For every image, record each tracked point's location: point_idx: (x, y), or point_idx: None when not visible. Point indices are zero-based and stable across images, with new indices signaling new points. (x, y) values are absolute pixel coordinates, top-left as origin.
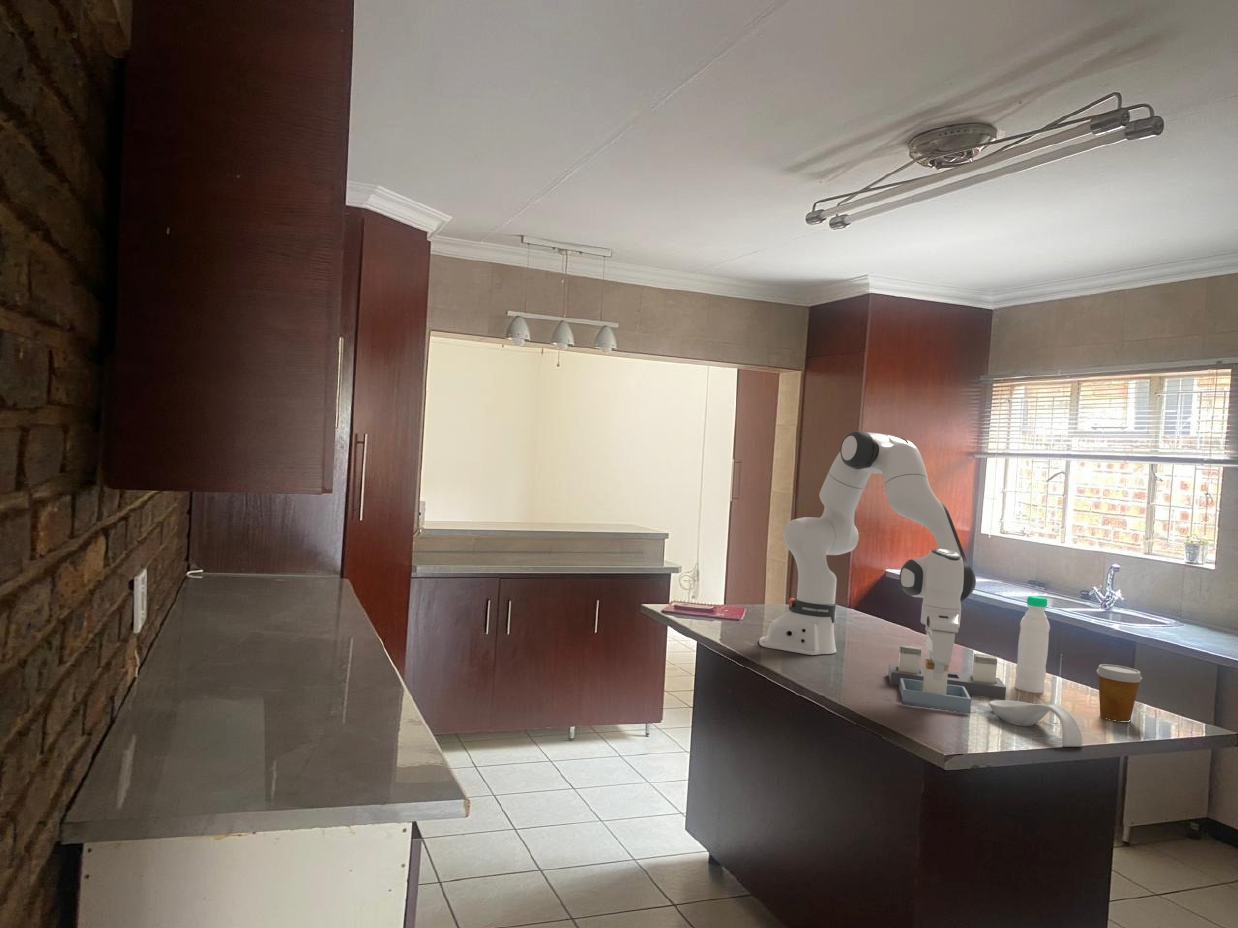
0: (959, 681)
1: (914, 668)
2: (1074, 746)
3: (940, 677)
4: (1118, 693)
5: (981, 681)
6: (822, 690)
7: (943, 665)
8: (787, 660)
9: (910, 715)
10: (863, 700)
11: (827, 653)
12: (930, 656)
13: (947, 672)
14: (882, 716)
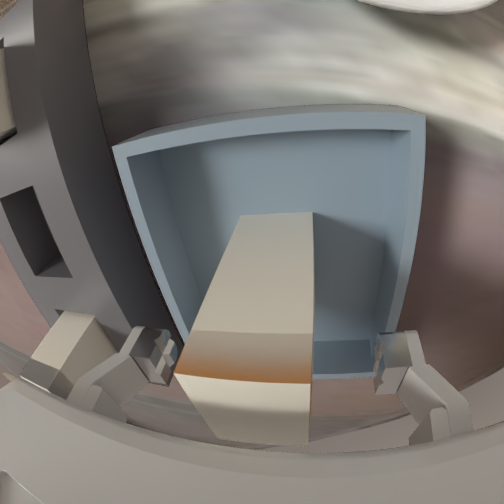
0: (65, 179)
1: (94, 343)
2: None
3: (417, 346)
4: None
5: (6, 98)
6: (324, 429)
7: (467, 414)
8: (150, 429)
9: (482, 312)
10: (373, 392)
11: None
12: (122, 404)
13: (312, 328)
14: (491, 355)
